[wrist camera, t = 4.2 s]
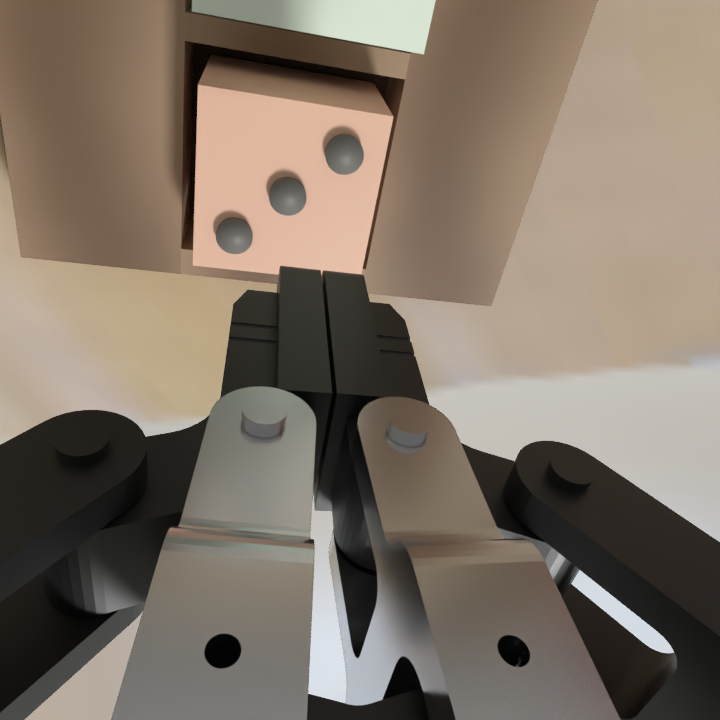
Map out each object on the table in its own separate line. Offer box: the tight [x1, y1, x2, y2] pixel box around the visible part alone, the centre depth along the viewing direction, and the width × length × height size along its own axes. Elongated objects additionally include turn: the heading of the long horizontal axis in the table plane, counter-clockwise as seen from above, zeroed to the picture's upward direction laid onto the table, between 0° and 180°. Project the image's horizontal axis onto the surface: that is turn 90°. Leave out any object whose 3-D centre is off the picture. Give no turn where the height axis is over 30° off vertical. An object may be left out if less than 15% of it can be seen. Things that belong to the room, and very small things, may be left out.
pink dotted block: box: [193, 55, 394, 275], centre depth 16 cm, size 4×4×4 cm
